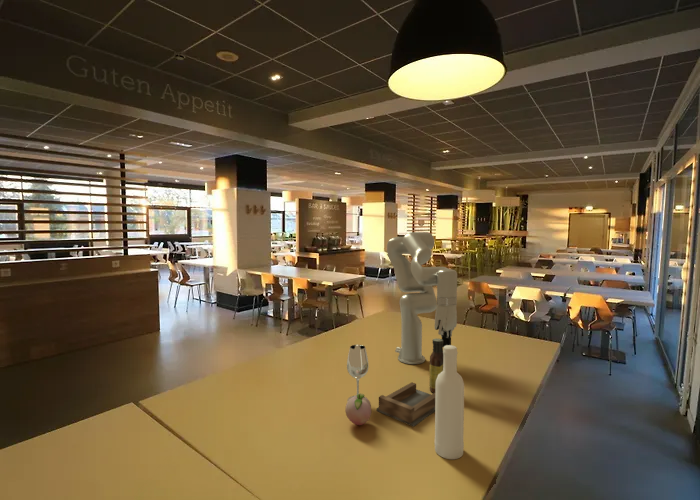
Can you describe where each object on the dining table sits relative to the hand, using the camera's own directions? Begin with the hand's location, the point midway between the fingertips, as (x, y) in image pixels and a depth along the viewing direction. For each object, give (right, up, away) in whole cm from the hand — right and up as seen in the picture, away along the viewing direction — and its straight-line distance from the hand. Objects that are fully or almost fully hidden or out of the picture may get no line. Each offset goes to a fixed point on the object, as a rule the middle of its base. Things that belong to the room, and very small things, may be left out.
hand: (446, 346), depth 147 cm
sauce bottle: (-4, -16, -3) cm, 17 cm away
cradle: (-16, -17, -16) cm, 28 cm away
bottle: (-10, -19, -42) cm, 47 cm away
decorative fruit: (-35, -18, -28) cm, 48 cm away
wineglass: (-35, -17, -11) cm, 41 cm away
